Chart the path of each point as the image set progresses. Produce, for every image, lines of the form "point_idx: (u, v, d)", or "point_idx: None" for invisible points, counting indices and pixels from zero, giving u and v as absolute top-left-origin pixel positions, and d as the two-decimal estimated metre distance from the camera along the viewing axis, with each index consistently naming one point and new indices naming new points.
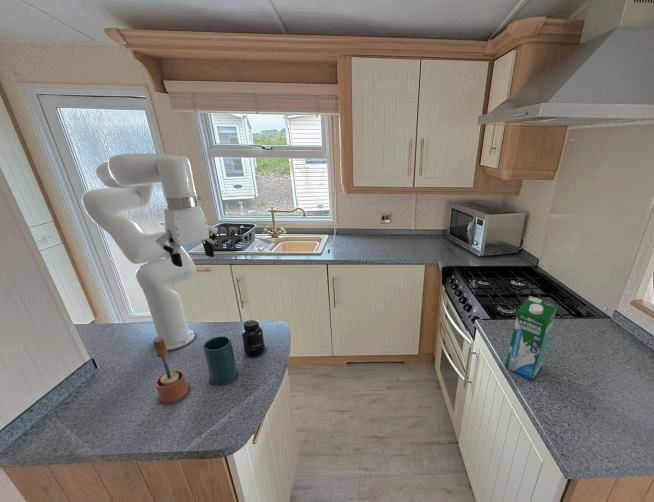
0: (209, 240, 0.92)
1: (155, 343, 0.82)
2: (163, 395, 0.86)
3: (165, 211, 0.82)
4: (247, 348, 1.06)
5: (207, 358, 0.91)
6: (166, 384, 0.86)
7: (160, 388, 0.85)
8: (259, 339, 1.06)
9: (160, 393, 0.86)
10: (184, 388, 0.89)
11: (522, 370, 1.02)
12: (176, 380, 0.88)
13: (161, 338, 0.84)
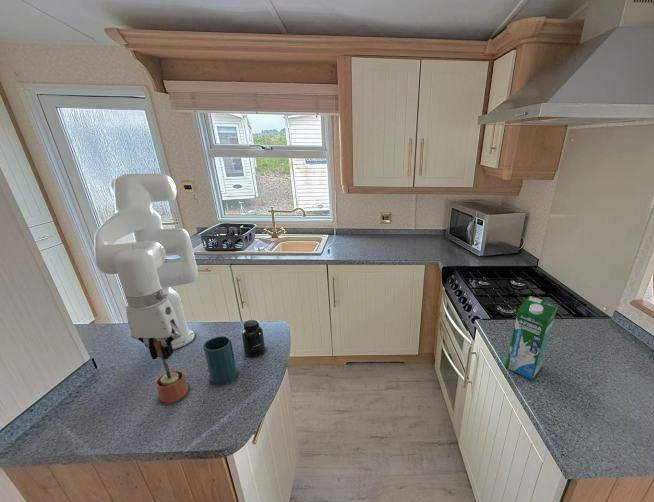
0: (162, 342, 0.82)
1: (155, 343, 0.82)
2: (163, 395, 0.86)
3: None
4: (247, 348, 1.06)
5: (207, 358, 0.91)
6: (166, 384, 0.86)
7: (160, 388, 0.85)
8: (259, 339, 1.06)
9: (160, 393, 0.86)
10: (184, 388, 0.89)
11: (522, 370, 1.02)
12: (176, 380, 0.88)
13: None
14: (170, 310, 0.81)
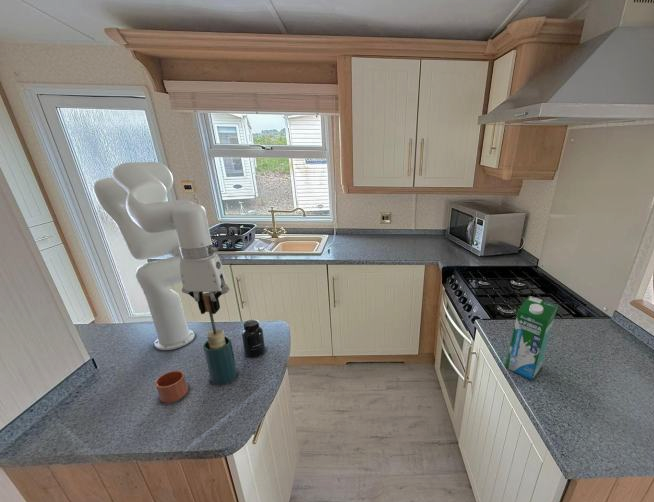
0: (212, 296, 0.85)
1: (204, 297, 0.86)
2: (163, 395, 0.86)
3: None
4: (247, 348, 1.06)
5: (207, 358, 0.91)
6: (213, 339, 0.90)
7: (160, 388, 0.85)
8: (259, 339, 1.06)
9: (160, 393, 0.86)
10: (184, 388, 0.89)
11: (522, 370, 1.02)
12: (222, 336, 0.91)
13: None
14: (219, 265, 0.85)
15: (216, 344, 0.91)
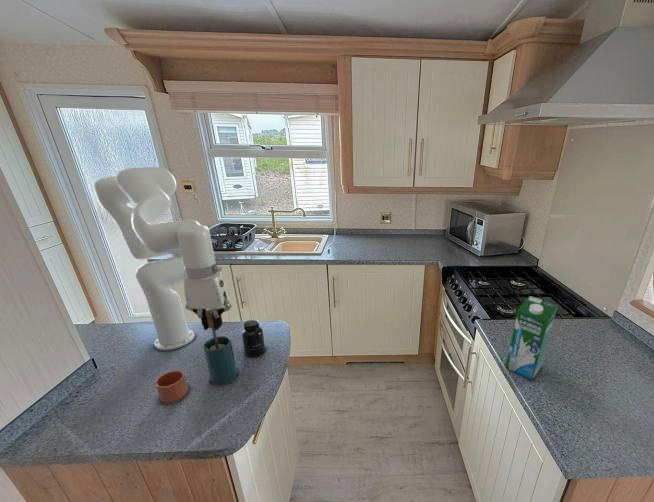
0: (215, 313, 0.88)
1: (207, 314, 0.88)
2: (163, 395, 0.86)
3: None
4: (247, 348, 1.06)
5: (207, 358, 0.91)
6: None
7: (160, 388, 0.85)
8: (259, 339, 1.06)
9: (160, 393, 0.86)
10: (184, 388, 0.89)
11: (522, 370, 1.02)
12: None
13: (212, 310, 0.89)
14: (222, 283, 0.87)
15: None
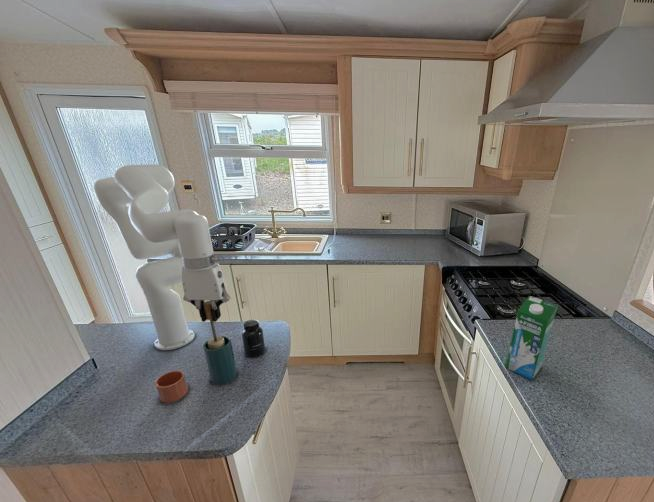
0: (213, 304, 0.87)
1: (205, 306, 0.87)
2: (163, 395, 0.86)
3: None
4: (247, 348, 1.06)
5: (207, 358, 0.91)
6: (213, 346, 0.91)
7: (160, 388, 0.85)
8: (259, 339, 1.06)
9: (160, 393, 0.86)
10: (184, 388, 0.89)
11: (522, 370, 1.02)
12: (222, 343, 0.93)
13: (210, 302, 0.88)
14: (221, 274, 0.86)
15: None
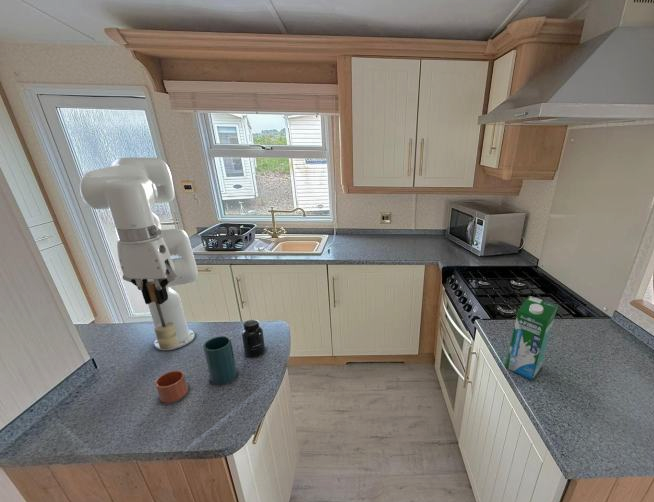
0: (156, 284, 0.77)
1: (148, 286, 0.77)
2: (163, 395, 0.86)
3: None
4: (247, 348, 1.06)
5: (207, 358, 0.91)
6: (160, 332, 0.81)
7: (160, 388, 0.85)
8: (259, 339, 1.06)
9: (160, 393, 0.86)
10: (184, 388, 0.89)
11: (522, 370, 1.02)
12: (171, 329, 0.83)
13: None
14: (164, 249, 0.76)
15: (165, 338, 0.82)
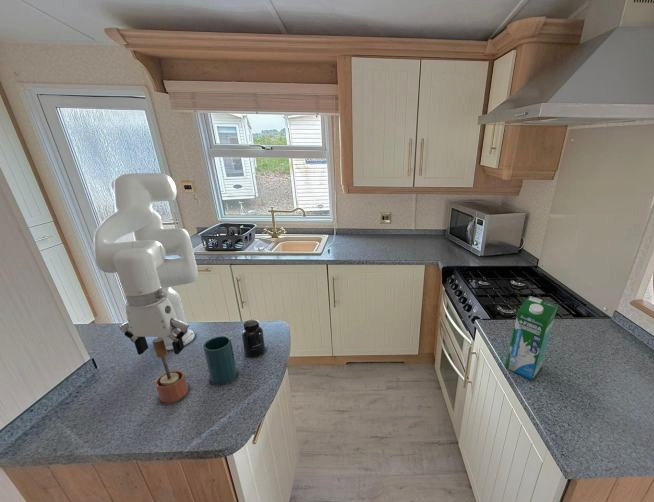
0: (172, 338, 0.82)
1: (155, 343, 0.82)
2: (163, 395, 0.86)
3: None
4: (247, 348, 1.06)
5: (207, 358, 0.91)
6: (166, 385, 0.86)
7: (160, 388, 0.85)
8: (259, 339, 1.06)
9: (160, 393, 0.86)
10: (184, 388, 0.89)
11: (522, 370, 1.02)
12: (176, 381, 0.88)
13: (161, 338, 0.83)
14: (170, 309, 0.81)
15: None
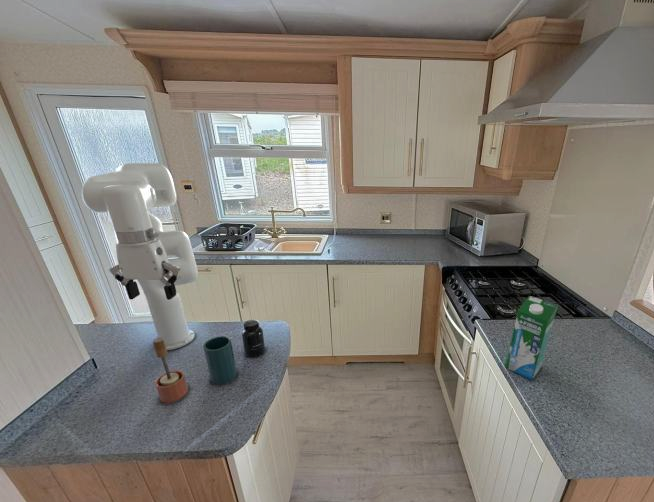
0: (163, 281, 0.80)
1: (155, 343, 0.82)
2: (163, 395, 0.86)
3: None
4: (247, 348, 1.06)
5: (207, 358, 0.91)
6: (166, 385, 0.86)
7: (160, 388, 0.85)
8: (259, 339, 1.06)
9: (160, 393, 0.86)
10: (184, 388, 0.89)
11: (522, 370, 1.02)
12: (176, 381, 0.88)
13: (161, 338, 0.83)
14: (161, 251, 0.79)
15: None
